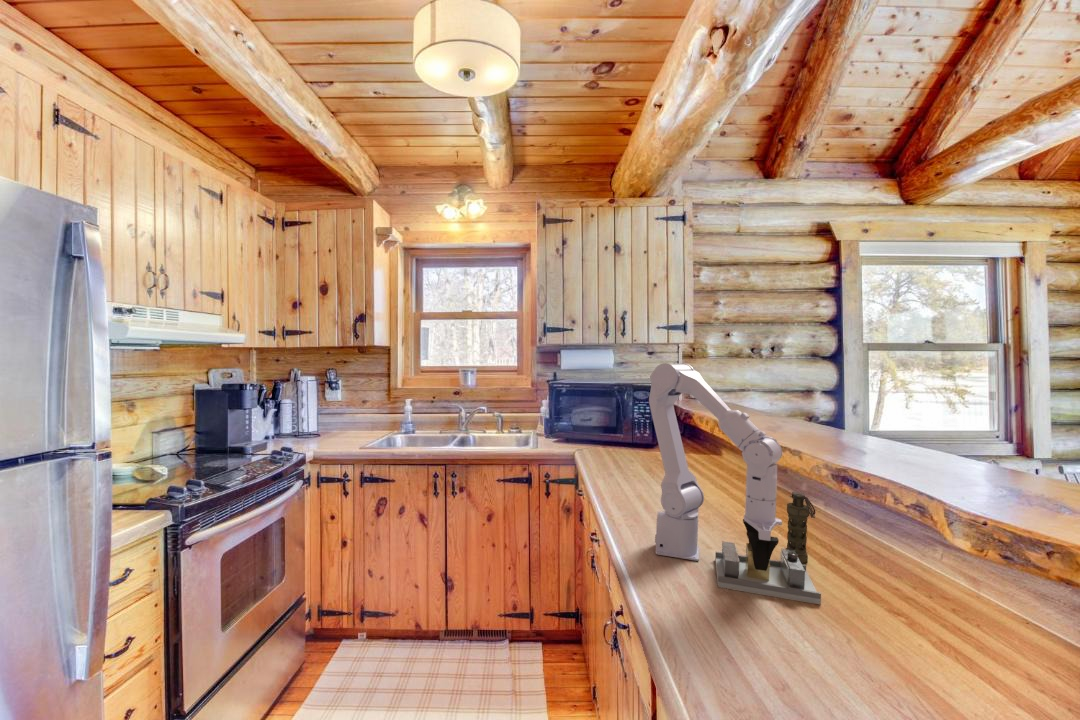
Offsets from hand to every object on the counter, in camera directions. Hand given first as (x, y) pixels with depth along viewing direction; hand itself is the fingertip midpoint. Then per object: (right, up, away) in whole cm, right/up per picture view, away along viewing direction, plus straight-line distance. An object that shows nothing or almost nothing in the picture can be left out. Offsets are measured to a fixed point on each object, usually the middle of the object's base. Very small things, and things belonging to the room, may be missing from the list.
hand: (758, 562), depth 97 cm
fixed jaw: (-5, -3, +2) cm, 7 cm away
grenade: (+15, -4, +11) cm, 19 cm away
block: (0, -3, 0) cm, 3 cm away
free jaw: (+6, -2, -2) cm, 7 cm away
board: (+1, -4, 0) cm, 4 cm away
